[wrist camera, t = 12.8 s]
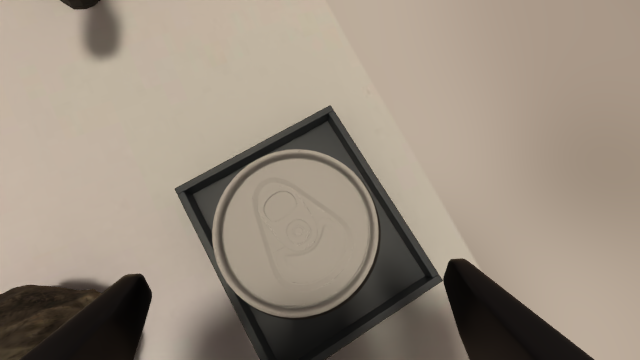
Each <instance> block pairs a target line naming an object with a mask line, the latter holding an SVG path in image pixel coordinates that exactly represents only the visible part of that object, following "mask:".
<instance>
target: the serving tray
mask: <svg viewBox="0 0 640 360" xmlns="http://www.w3.org/2000/svg"><path fill="white" fill-rule="evenodd" d="M292 149H301V150H310V151H316V152H319V153H322V154H325V155H328V156H330V157H332V158H334V159H336V160H338V161H340V162H341V163H343V164H344V165H346V166H347V167H348V168H349V169H350V170H352V171H353V172H354V173H355V174H356V175H357V176H358V177H359V178H360V179H361V180H362V181H363V183H364V184H365V186H366V187H367V189H368V190H369V192H370V194H371V196H372V198H373V200H374V202H375V205H376V208H377V211H378V214H379V219H380V227H381V241H380V249H379V254H378V258H377V261H376V264H375V267H374V269H373V271H372V273H371V275H370V277H369V278H368V280H367V282H366V283H365V285H364V286H363V287H362V289H361V290H360V291H359V292H358V293H357V294H356V295H355V296H354V297H353V298H352V299H351V300H350V301H349V302H347V303H346V304H344V305H343V306H342V307H340V308H338V309H336V310H334V311H332V312H330V313H328V314H326V315H323V316H320V317H316V318H312V319H304V320H289V319H282V318H277V317H273V316H270V315H267V314H265V313H262V312H260V311H258V310H257V309H255V308H253V307H252V306H250V305H249V304H247V303H246V302H245V301H244V300H242V299H241V298H240V297H239V296H238V295H237V294H236V293H235V292H234V291H233V289H232V288H231V287H230V286H229V285H228V283H227V282H226V280H225V279H224V277H223V275H222V273H221V271H220V269H219V267H218V264H217V262H216V258H215V254H214V249H213V242H212V229H213V221H214V215H215V212H216V208H217V206H218V203H219V200H220V198H221V196H222V194H223V193H224V191H225V189H226V188H227V186H228V185H229V183H230V182H231V181H232V180H233V178H234V177H235V176H236V175H237V174H238V173H239V172H240V171H241V170H243V169H244V168H245V167H246V166H247V165H249V164H250V163H252V162H254V161H255V160H257V159H259V158H261V157H263V156H265V155H268V154H271V153H274V152H278V151H283V150H292ZM175 191H176V193H177V194H178V197H179V199H180V201H181V203H182V205H183V207H184V209H185V211H186V213H187V215H188V217H189V219H190V221H191V223H192V225H193V227H194V229H195V231H196V233H197V235H198V237H199V239H200V241H201V243H202V245H203V247H204V249H205V251H206V253H207V255H208V257H209V259H210V261H211V263H212V265H213V267H214V269H215V271H216V273H217V275H218V277H219V279H220V281H221V283H222V285H223V287H224V289H225V291H226V293H227V295H228V297H229V299H230V301H231V303H232V305H233V307H234V309H235V311H236V313H237V315H238V317H239V319H240V321H241V323H242V325H243V327H244V329H245V331H246V333H247V335H248V337H249V339H250V341H251V343H252V345H253V347H254V349H255V351H256V353H257V355H258V357H259V359H260V360H325V359H326V358H328V357H329V356H331V355H332V354H334V353H335V352H337V351H338V350H340V349H341V348H343V347H344V346H346V345H347V344H349V343H350V342H352V341H353V340H355V339H356V338H358V337H359V336H361V335H362V334H364V333H365V332H367V331H368V330H370V329H371V328H373V327H374V326H376V325H377V324H379V323H380V322H382V321H383V320H385V319H386V318H388V317H389V316H391V315H392V314H394V313H395V312H397V311H398V310H400V309H401V308H403V307H404V306H406V305H407V304H409V303H410V302H412V301H413V300H415V299H416V298H418V297H419V296H421V295H422V294H424V293H425V292H427V291H428V290H430V289H431V288H433V287H434V286H436V285H437V284H439V283H440V282H442V281H443V280H442V279H441V277H440V275H438V272H437V271H436V269H435V268H434V266H433V264H432V263H431V261H430V260H429V258H428V257H427V255H426V254H425V252H424V250H423V249H422V247H421V246H420V244H419V243H418V241H417V240H416V238H415V236H414V235H413V233H412V232H411V230H410V229H409V227H408V225H407V224H406V222H405V221H404V219H403V218H402V216H401V215H400V213H399V211H398V210H397V208H396V207H395V205H394V204H393V202H392V201H391V199H390V197H389V196H388V194H387V193H386V191H385V190H384V188H383V186H382V185H381V183H380V182H379V180H378V179H377V177H376V176H375V174H374V172H373V171H372V169H371V168H370V166H369V165H368V163H367V161H366V160H365V158H364V157H363V155H362V154H361V152H360V151H359V149H358V147H357V146H356V144H355V143H354V141H353V140H352V138H351V137H350V135H349V133H348V132H347V130H346V129H345V127H344V126H343V124H342V122H341V121H340V119H339V118H338V116H337V115H336V113H335V112H334V111H333V108H332V107H331V106H328V107H326V108H324V109H322V110H321V111H319V112H317V113H315V114H313V115H311V116H309V117H308V118H306V119H304V120H302V121H300V122H298V123H296V124H294V125H293V126H291V127H289V128H287V129H285V130H283V131H281V132H280V133H278V134H276V135H274V136H272V137H270V138H268V139H266V140H265V141H263V142H261V143H259V144H257V145H255V146H253V147H252V148H250V149H248V150H246V151H244V152H242V153H240V154H239V155H237V156H235V157H233V158H231V159H229V160H227V161H225V162H224V163H222V164H220V165H218V166H216V167H214V168H212V169H211V170H209V171H207V172H205V173H203V174H201V175H199V176H197V177H196V178H194V179H192V180H190V181H188V182H186V183H184V184H183V185H181V186H179V187H177V188H175Z"/></svg>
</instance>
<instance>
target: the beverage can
mask: <svg viewBox="0 0 640 360" xmlns="http://www.w3.org/2000/svg"><path fill="white" fill-rule="evenodd" d="M380 241H381V227H380V219H379V214H378V211H377V208H376V205H375V202H374V200H373V198H372V196H371V194H370V192H369V190H368V189H367V187H366V186H365V184H364V183H363V181H362V180H361V179H360V178H359V177H358V176H357V175H356V174H355V173H354V172H353V171H352V170H350V169H349V168H348V167H347V166H346V165H344V164H343V163H341V162H340V161H338V160H336V159H334V158H332V157H330V156H328V155H325V154H322V153H319V152H316V151H310V150H301V149H292V150H283V151H278V152H274V153H271V154H268V155H265V156H263V157H261V158H259V159H257V160H255V161H254V162H252V163H250V164H249V165H247V166H246V167H245V168H244V169H243V170H241V171H240V172H239V173H238V174H237V175H236V176H235V177H234V178H233V180H232V181H231V182H230V183H229V185H228V186H227V188H226V189H225V191H224V193H223V194H222V196H221V198H220V200H219V203H218V206H217V208H216V212H215V215H214V221H213V229H212V242H213V249H214V254H215V258H216V262H217V264H218V267H219V269H220V271H221V273H222V275H223V277H224V279H225V280H226V282H227V283H228V285H229V286H230V287H231V288H232V289H233V291H234V292H235V293H236V294H237V295H238V296H239V297H240V298H241V299H242V300H244V301H245V302H246V303H247V304H249V305H250V306H252V307H253V308H255V309H257V310H258V311H260V312H262V313H265V314H267V315H270V316H273V317H277V318H282V319H289V320H304V319H312V318H316V317H320V316H323V315H326V314H328V313H330V312H332V311H334V310H336V309H338V308H340V307H342V306H343V305H344V304H346V303H347V302H349V301H350V300H351V299H352V298H353V297H354V296H355V295H356V294H357V293H358V292H359V291H360V290H361V289H362V287H363V286H364V285H365V283H366V282H367V280H368V278H369V277H370V275H371V273H372V271H373V269H374V267H375V264H376V261H377V258H378V254H379V249H380Z"/></svg>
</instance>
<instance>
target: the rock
mask: <svg viewBox="0 0 640 360" xmlns="http://www.w3.org/2000/svg"><path fill="white" fill-rule="evenodd" d="M101 294H102V293H100V292H98V291H97V290H95V289H88V290H81V291H80V290H74V289H68V288H62V287H55V286H37V285H25V286H21V287H16V288H13V289H11V290H9V291H7V292H5V293H3V294H0V360H19V359H20V358H22V357H23V356H24V355H25V354H27V353H28V352H29V351H30V350H32V349H33V348H34V347H36V346H37V345H38V344H39V343H41V342H42V341H43V340H44V339H46V338H47V337H48V336H49V335H51V334H52V333H53V332H54V331H56V330H57V329H58V328H59V327H61V326H62V325H63V324H64V323H66V322H67V321H68V320H69V319H71V318H72V317H73V316H74V315H76V314H77V313H78V312H79V311H81V310H82V309H83V308H84V307H86V306H87V305H88V304H89V303H91V302H92V301H93V300H94V299H96V298H97V297H98V296H99V295H101Z"/></svg>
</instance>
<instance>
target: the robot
mask: <svg viewBox="0 0 640 360" xmlns="http://www.w3.org/2000/svg"><path fill="white" fill-rule="evenodd" d="M61 1H62V2H63V3H65V4H67V5H68V6H70V7H72V8H73V9H87V8H89V7H91V6H93V5H95V4H96V3H98V2H99V1H100V0H61Z"/></svg>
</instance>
